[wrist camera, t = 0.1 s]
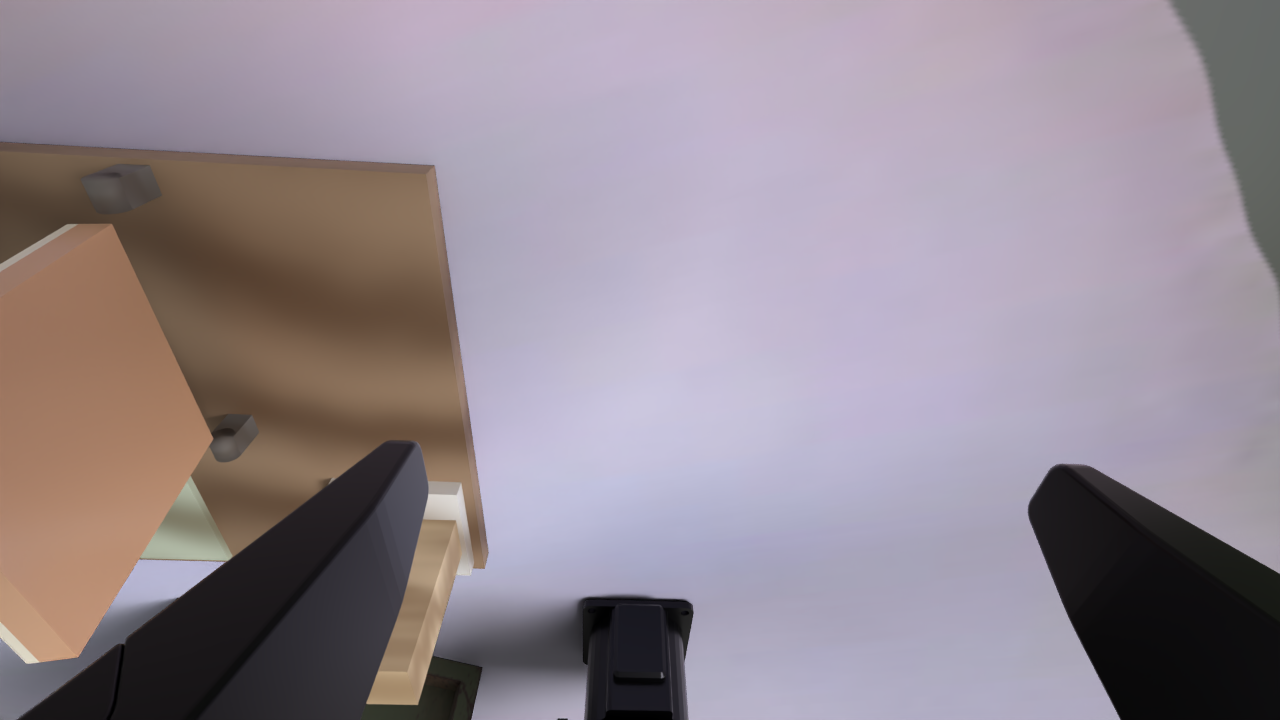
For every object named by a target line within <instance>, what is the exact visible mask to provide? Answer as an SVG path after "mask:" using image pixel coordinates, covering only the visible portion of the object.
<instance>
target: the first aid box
mask: <svg viewBox="0 0 1280 720" xmlns="http://www.w3.org/2000/svg"><path fill="white" fill-rule="evenodd" d="M177 599H178V598H177ZM177 599H176V600H177ZM481 672H482V667H477V666H473V665H469V664H464V663H460V662H455V661H451V660H447V659H442V658H438V657H434V656H432V658H431V662H430V665H429V668H428V672H427V675H426V679H425V682H424V685H423V689H422V692H421V696H420V699H419V702H418V705H396V704H366V706H365V708H364V711H363V714H362V717H361V719H360V720H471V718H472V713H473V709H474V704H475V699H476V695H477V690H478V686H479V681H480V676H481Z"/></svg>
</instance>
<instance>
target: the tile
mask: <svg viewBox="0 0 1280 720" xmlns="http://www.w3.org/2000/svg"><path fill="white" fill-rule="evenodd" d="M212 440H213V437H212V435H211V433H210V430H209V428H208V426H207V424H206V422H205V420H204V418H203V416H202V413H201V411H200V409H199V407H198V405H197V403H196V401H195V399H194V397H193V394H192V392H191V390H190V388H189V386H188V384H187V382H186V380H185V377H184V375H183V373H182V371H181V369H180V367H179V365H178V363H177V361H176V358H175V356H174V354H173V352H172V350H171V348H170V346H169V344H168V341H167V339H166V337H165V335H164V333H163V331H162V329H161V327H160V325H159V322H158V320H157V318H156V316H155V314H154V312H153V310H152V308H151V305H150V303H149V301H148V299H147V297H146V295H145V293H144V291H143V289H142V286H141V284H140V282H139V280H138V278H137V276H136V274H135V272H134V269H133V267H132V265H131V263H130V261H129V259H128V257H127V255H126V253H125V250H124V248H123V246H122V244H121V242H120V240H119V238H118V236H117V233H116V231H115V229H114V227H113V225H112V224H67V225H65V226H63V227H62V228H60V229H58V230H57V231H55V232H53V233H52V234H50V235H48V236H47V237H45V238H43V239H42V240H40V241H38V242H37V243H35V244H33V245H32V246H30V247H28V248H26V249H25V250H23V251H21V252H20V253H18V254H16V255H15V256H13V257H11V258H10V259H8V260H6V261H5V262H3V263H1V264H0V638H1V639H2V640H3V641H4V642H5V643H6V644H7V645H8V646H9V647H10V648H11V649H12V650H13V651H14V652H15V653H16V654H17V655H18V656H19V657H20V658H21V659H22V660H23V661H24V662H25V663H26V664H31V663H39V662H47V661H54V660H62V659H70V658H78V657H79V655H80V654H81V652H82V650H83V649H84V647H85V646H86V644H87V642H88V641H89V639H90V637H91V636H92V634H93V633H94V631H95V629H96V628H97V626H98V625H99V623H100V621H101V620H102V618H103V616H104V615H105V613H106V612H107V610H108V608H109V607H110V605H111V604H112V602H113V600H114V599H115V597H116V595H117V594H118V592H119V591H120V589H121V587H122V586H123V584H124V583H125V581H126V579H127V578H128V576H129V574H130V573H131V571H132V570H133V568H134V566H135V565H136V563H137V562H138V560H139V558H140V557H141V555H142V553H143V552H144V550H145V549H146V547H147V545H148V544H149V542H150V541H151V539H152V537H153V536H154V534H155V532H156V531H157V529H158V528H159V526H160V524H161V523H162V521H163V520H164V518H165V516H166V515H167V513H168V511H169V510H170V508H171V507H172V505H173V503H174V502H175V500H176V499H177V497H178V495H179V494H180V492H181V490H182V489H183V487H184V486H185V484H186V482H187V481H188V479H189V478H190V476H191V474H192V473H193V471H194V469H195V468H196V466H197V465H198V463H199V461H200V460H201V458H202V457H203V455H204V453H205V452H206V450H207V448H208V447H209V445H210V444H211V442H212Z"/></svg>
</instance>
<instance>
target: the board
mask: <svg viewBox="0 0 1280 720" xmlns="http://www.w3.org/2000/svg"><path fill="white" fill-rule="evenodd" d="M67 224H112V225H113V227H114V229H115V231H116V233H117V236H118V238H119V240H120V242H121V244H122V246H123V248H124V250H125V253H126V255H127V257H128V259H129V261H130V263H131V265H132V267H133V269H134V272H135V274H136V276H137V278H138V280H139V282H140V284H141V286H142V289H143V291H144V293H145V295H146V297H147V299H148V301H149V303H150V305H151V308H152V310H153V312H154V314H155V316H156V318H157V320H158V322H159V325H160V327H161V329H162V331H163V333H164V335H165V337H166V339H167V341H168V344H169V346H170V348H171V350H172V352H173V354H174V356H175V358H176V361H177V363H178V365H179V367H180V369H181V371H182V373H183V375H184V377H185V380H186V382H187V384H188V386H189V388H190V390H191V392H192V394H193V397H194V399H195V401H196V403H197V405H198V407H199V409H200V411H201V413H202V416H203V418H204V420H205V422H206V424H207V426H208V428H209V430H210V433H211V435H212V437H213V440H212V442H211V444H210V445H209V447H208V448H207V450H206V452H205V453H204V455H203V457H202V458H201V460H200V461H199V463H198V465H197V466H196V468H195V469H194V471H193V473H192V474H191V476H190V478H189V479H188V481H187V482H186V484H185V486H184V487H183V489H182V490H181V492H180V494H179V495H178V497H177V499H176V500H175V502H174V503H173V505H172V507H171V508H170V510H169V511H168V513H167V515H166V516H165V518H164V520H163V521H162V523H161V524H160V526H159V528H158V529H157V531H156V532H155V534H154V536H153V537H152V539H151V541H150V542H149V544H148V545H147V547H146V549H145V550H144V552H143V553H142V555H141V557H140V558H139V559H147V560H183V561H220V562H227V561H228V560H229V559H231V558H232V557H233V556H235V555H236V554H237V553H239V552H240V551H241V550H243V549H244V548H245V547H247V546H248V545H249V544H251V543H252V542H253V541H254V540H256V539H257V538H258V537H260V536H261V535H262V534H264V533H265V532H266V531H268V530H269V529H270V528H272V527H273V526H274V525H276V524H277V523H278V522H280V521H281V520H282V519H283V518H285V517H286V516H287V515H289V514H290V513H291V512H293V511H294V510H295V509H297V508H298V507H299V506H301V505H302V504H303V503H305V502H306V501H307V500H308V499H310V498H311V497H312V496H314V495H315V494H316V493H318V492H319V491H320V490H322V489H323V488H324V487H326V486H327V485H328V484H329V482H330V480H331V479H332V478H337V477H339V476H340V475H341V474H343V473H344V472H345V471H347V470H348V469H349V468H351V467H352V466H353V465H355V464H356V463H357V462H359V461H360V460H361V459H362V458H364V457H365V456H366V455H368V454H369V453H370V452H372V451H373V450H374V449H376V448H377V447H378V446H380V445H381V444H382V443H384V442H386V441H388V440H411V441H416V442H417V443H419V445H420V447H421V450H422V454H423V459H424V464H425V469H426V474H427V478H428V481H437V482H461V484H462V490H463V496H464V503H465V509H466V515H467V521H468V527H469V533H470V539H471V546H472V552H473V558H474V565H473V568H479V569H485V565H486V561H487V557H488V546H487V539H486V531H485V524H484V517H483V510H482V503H481V496H480V488H479V481H478V474H477V467H476V460H475V452H474V445H473V438H472V431H471V424H470V417H469V409H468V402H467V395H466V388H465V381H464V374H463V366H462V359H461V352H460V345H459V338H458V331H457V323H456V316H455V309H454V302H453V295H452V288H451V280H450V273H449V266H448V259H447V252H446V244H445V237H444V230H443V223H442V216H441V209H440V201H439V194H438V187H437V180H436V173H435V166H430V165H412V164H394V163H375V162H357V161H338V160H320V159H302V158H283V157H265V156H246V155H228V154H210V153H191V152H173V151H154V150H136V149H118V148H99V147H81V146H62V145H44V144H26V143H7V142H0V264H1V263H3V262H5V261H6V260H8V259H10V258H11V257H13V256H15V255H16V254H18V253H20V252H21V251H23V250H25V249H26V248H28V247H30V246H32V245H33V244H35V243H37V242H38V241H40V240H42V239H43V238H45V237H47V236H48V235H50V234H52V233H53V232H55V231H57V230H58V229H60V228H62V227H63V226H65V225H67Z"/></svg>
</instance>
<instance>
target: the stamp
mask: <svg viewBox="0 0 1280 720" xmlns="http://www.w3.org/2000/svg"><path fill="white" fill-rule="evenodd" d="M335 479H336V478H332V479H331V480H330V482H329V484H330V483H331V482H332V481H333V480H335ZM428 484H429V493H428V500H427V504H426V508H425V513H424V517H423V521H422V525H421V529H420V533H419V538H418V542H417V546H416V550H415V554H414V558H413V563H412V567H411V571H410V575H409V579H408V583H407V587H406V591H405V595H404V599H403V602H402V605H401V608H400V611H399V614H398V617H397V620H396V623H395V626H394V629H393V631H392V634H391V637H390V640H389V642H388V645H387V648H386V651H385V653H384V656H383V659H382V662H381V664H380V667H379V670H378V673H377V675H376V678H375V681H374V684H373V686H372V689H371V692H370V695H369V697H368V700H367V703H366V704H396V705H418V702H419V699H420V696H421V692H422V689H423V685H424V682H425V679H426V675H427V672H428V668H429V665H430V662H431V658H432V655H433V651H434V648H435V644H436V641H437V638H438V634H439V631H440V627H441V624H442V621H443V617H444V614H445V610H446V607H447V603H448V600H449V597H450V593H451V590H452V586H453V583H454V580H455V576H456V575H467V576H471V573H472V569H473V565H474V558H473V552H472V546H471V539H470V533H469V527H468V521H467V515H466V509H465V503H464V496H463V490H462V484H461V482H437V481H428Z"/></svg>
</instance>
